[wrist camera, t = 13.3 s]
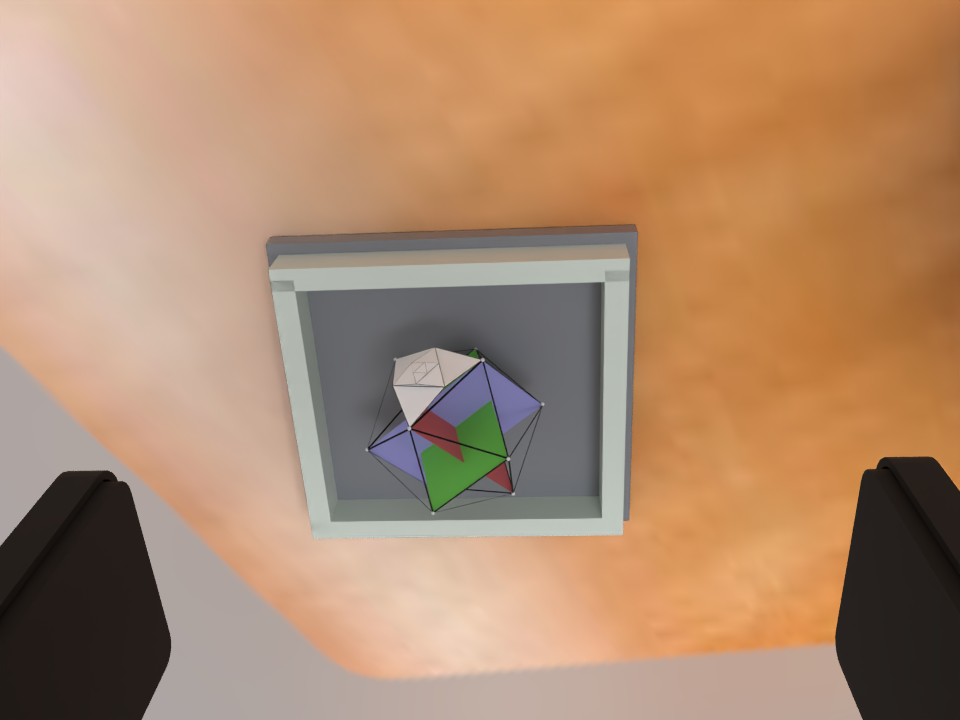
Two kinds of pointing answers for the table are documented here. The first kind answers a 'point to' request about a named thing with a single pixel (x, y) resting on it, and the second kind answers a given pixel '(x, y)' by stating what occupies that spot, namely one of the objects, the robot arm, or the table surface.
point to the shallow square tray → (462, 326)
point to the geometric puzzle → (453, 422)
